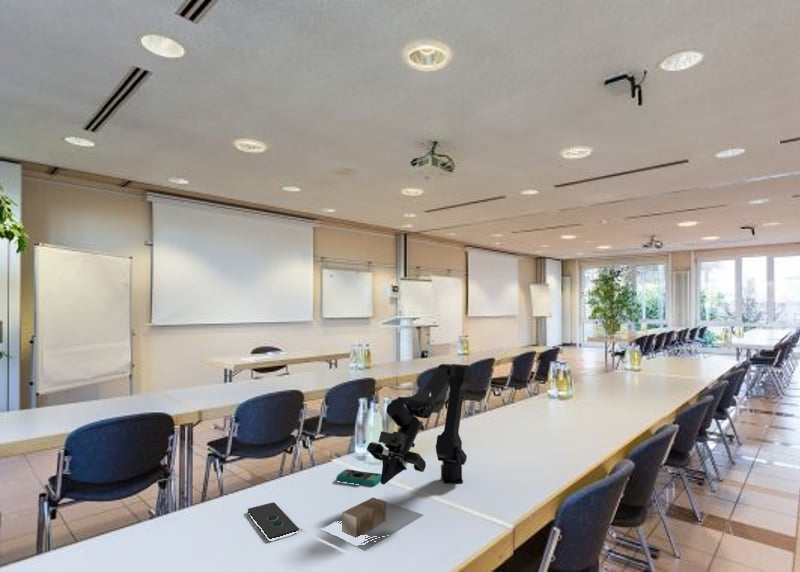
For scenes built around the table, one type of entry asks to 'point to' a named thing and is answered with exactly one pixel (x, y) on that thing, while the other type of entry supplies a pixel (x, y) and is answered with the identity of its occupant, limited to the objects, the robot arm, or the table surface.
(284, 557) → the table surface
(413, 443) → the robot arm
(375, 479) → the digital multimeter
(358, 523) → the walnut block
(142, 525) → the table surface
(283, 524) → the dark grey notebook
